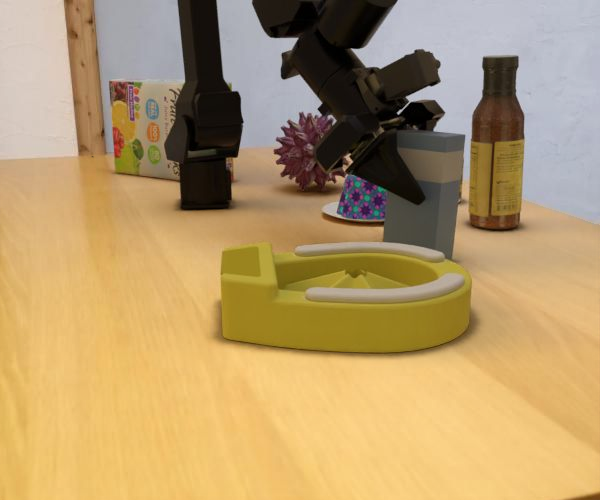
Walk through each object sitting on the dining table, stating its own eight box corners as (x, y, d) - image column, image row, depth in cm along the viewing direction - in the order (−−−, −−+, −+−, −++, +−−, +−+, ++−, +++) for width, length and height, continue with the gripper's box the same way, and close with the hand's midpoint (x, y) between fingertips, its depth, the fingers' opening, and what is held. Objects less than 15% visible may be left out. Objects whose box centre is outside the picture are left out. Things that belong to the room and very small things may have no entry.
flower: (272, 194, 122) (343, 173, 125) (296, 207, 111) (373, 184, 114) (255, 119, 118) (328, 100, 121) (278, 125, 107) (358, 103, 110)
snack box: (236, 180, 124) (233, 81, 119) (214, 186, 120) (210, 83, 115) (136, 168, 135) (130, 76, 130) (112, 173, 131) (105, 78, 126)
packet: (380, 257, 83) (391, 130, 79) (401, 251, 86) (412, 129, 82) (432, 268, 79) (446, 136, 75) (452, 261, 83) (466, 134, 79)
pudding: (352, 230, 95) (353, 187, 93) (305, 210, 105) (305, 171, 103) (434, 219, 100) (436, 178, 98) (382, 201, 110) (383, 163, 108)
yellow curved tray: (224, 287, 75) (223, 236, 73) (442, 282, 76) (445, 231, 74) (221, 357, 59) (219, 294, 57) (494, 349, 60) (499, 286, 59)
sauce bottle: (523, 222, 98) (539, 54, 92) (514, 233, 93) (530, 56, 87) (471, 216, 101) (482, 53, 94) (459, 228, 96) (470, 55, 89)
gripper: (342, 21, 69) (453, 157, 67) (431, 21, 84) (525, 132, 82) (270, 109, 76) (370, 235, 74) (365, 94, 91) (450, 199, 89)
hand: (434, 197), depth 80 cm, fingers closed on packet, 5 cm apart
